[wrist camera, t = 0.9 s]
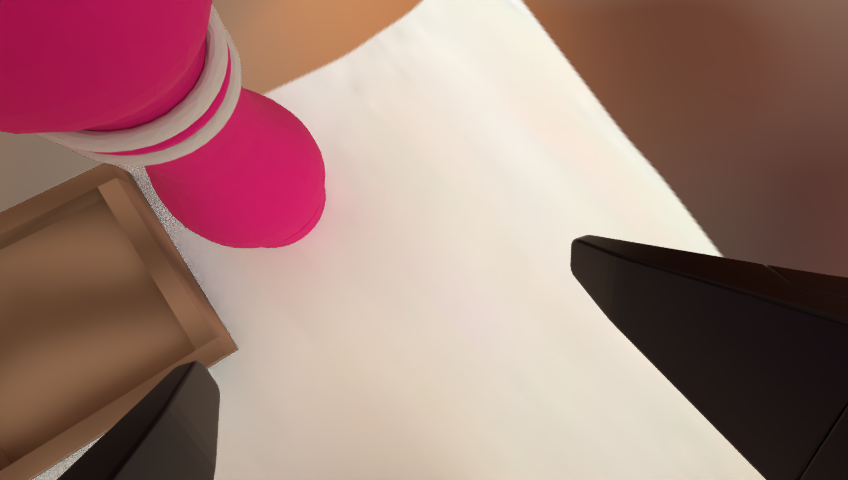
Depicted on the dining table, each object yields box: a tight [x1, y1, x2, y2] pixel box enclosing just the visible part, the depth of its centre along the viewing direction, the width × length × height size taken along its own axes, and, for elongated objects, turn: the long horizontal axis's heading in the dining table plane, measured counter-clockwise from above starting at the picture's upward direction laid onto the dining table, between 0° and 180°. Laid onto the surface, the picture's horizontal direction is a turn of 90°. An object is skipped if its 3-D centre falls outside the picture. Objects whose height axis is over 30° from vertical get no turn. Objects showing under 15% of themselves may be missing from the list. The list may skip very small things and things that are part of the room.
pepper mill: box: [0, 0, 326, 248], centre depth 11 cm, size 7×7×20 cm
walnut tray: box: [0, 163, 238, 480], centre depth 18 cm, size 12×12×2 cm
